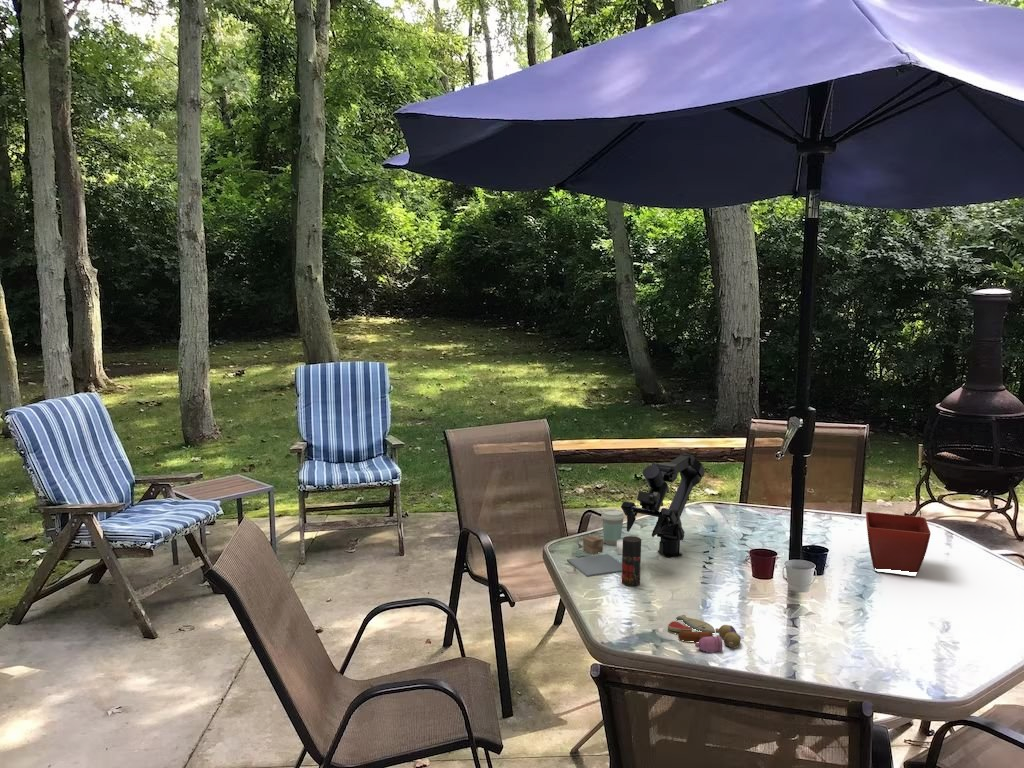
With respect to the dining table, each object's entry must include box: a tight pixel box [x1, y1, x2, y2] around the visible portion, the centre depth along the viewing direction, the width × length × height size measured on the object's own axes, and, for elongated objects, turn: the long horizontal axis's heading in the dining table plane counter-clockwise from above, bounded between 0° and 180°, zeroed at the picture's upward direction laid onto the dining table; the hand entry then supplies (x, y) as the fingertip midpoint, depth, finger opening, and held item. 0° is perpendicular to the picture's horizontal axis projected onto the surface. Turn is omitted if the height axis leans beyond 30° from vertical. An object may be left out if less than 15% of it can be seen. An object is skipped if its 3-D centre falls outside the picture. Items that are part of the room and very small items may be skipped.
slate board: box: [567, 553, 622, 578], centre depth 280 cm, size 16×16×1 cm
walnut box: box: [582, 534, 604, 555], centre depth 295 cm, size 5×5×5 cm
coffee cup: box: [600, 508, 625, 546], centre depth 303 cm, size 8×8×12 cm
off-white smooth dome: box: [616, 538, 623, 556], centre depth 294 cm, size 7×7×4 cm
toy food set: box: [667, 614, 742, 652], centre depth 224 cm, size 26×16×4 cm, turn 43°
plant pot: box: [865, 511, 931, 573], centre depth 278 cm, size 19×19×17 cm
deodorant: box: [621, 535, 642, 588], centre depth 263 cm, size 6×6×15 cm
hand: (639, 533), depth 270 cm, fingers open, 9 cm apart
